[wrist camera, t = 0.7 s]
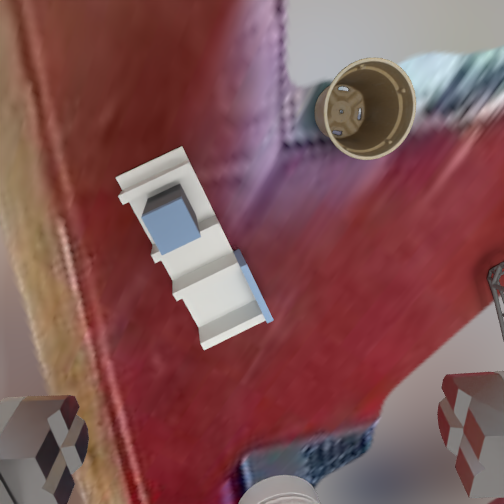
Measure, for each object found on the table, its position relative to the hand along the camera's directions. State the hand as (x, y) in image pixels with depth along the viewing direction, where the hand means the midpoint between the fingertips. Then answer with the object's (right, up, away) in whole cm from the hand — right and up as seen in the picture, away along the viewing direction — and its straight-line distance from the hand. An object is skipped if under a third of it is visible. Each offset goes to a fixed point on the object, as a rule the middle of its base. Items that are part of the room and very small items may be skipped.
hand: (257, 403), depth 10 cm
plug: (-9, +8, +39) cm, 41 cm away
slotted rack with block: (-7, +4, +42) cm, 43 cm away
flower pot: (+10, +20, +40) cm, 46 cm away
